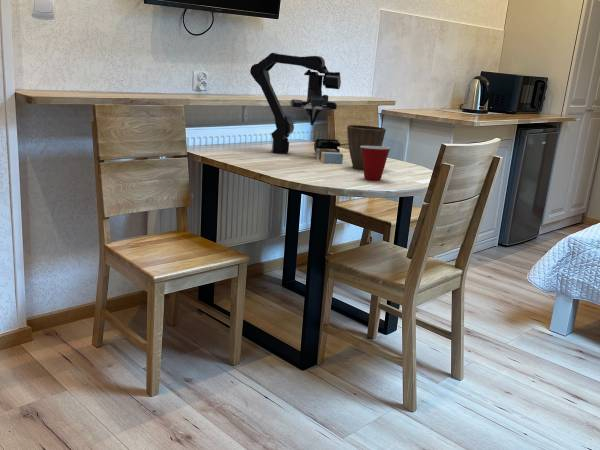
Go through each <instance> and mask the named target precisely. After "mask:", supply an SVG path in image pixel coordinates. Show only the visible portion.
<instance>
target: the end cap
mask: <svg viewBox="0 0 600 450" xmlns="http://www.w3.org/2000/svg"><path fill="white" fill-rule="evenodd" d="M339 147H341V142H339V140H338V139H330V138H329V139H326V138H316V139H315V140H314V144H313V149H314V152H315V154H316V150H317V148H319V149H335V150H337V153H341V152H340V151H341V149H340V148H339Z"/></svg>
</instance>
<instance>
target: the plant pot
mask: <svg viewBox="0 0 600 450" xmlns="http://www.w3.org/2000/svg"><path fill="white" fill-rule="evenodd" d="M346 130H347V144H348V151H349V157H350V160H351V164H352V168H353V169H356V170H362V171H364V169H363V155H362V149H361V147H360V146H382V147H383V143H384V138H385V135H386V132H387V131H386V130H387V129H386V128H384V127H379V126H373V125H371V126H370V125H360V124H359V125H358V124H352V125H350V124H349V125H347V127H346Z"/></svg>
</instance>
